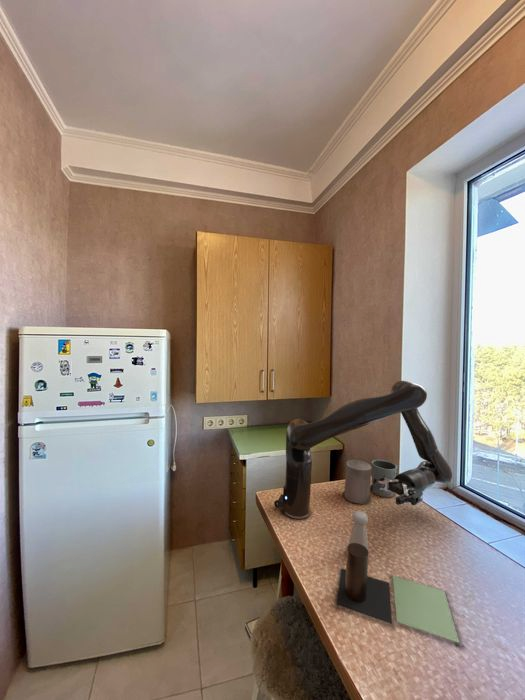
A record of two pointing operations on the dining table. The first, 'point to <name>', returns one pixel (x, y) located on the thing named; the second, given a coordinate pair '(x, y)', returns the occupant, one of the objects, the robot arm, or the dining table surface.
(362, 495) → the pillar candle
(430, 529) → the dining table surface
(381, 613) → the dark mat
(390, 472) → the grey-green plant pot
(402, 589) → the sage mat
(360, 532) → the salt shaker
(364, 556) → the dark brown cylinder
